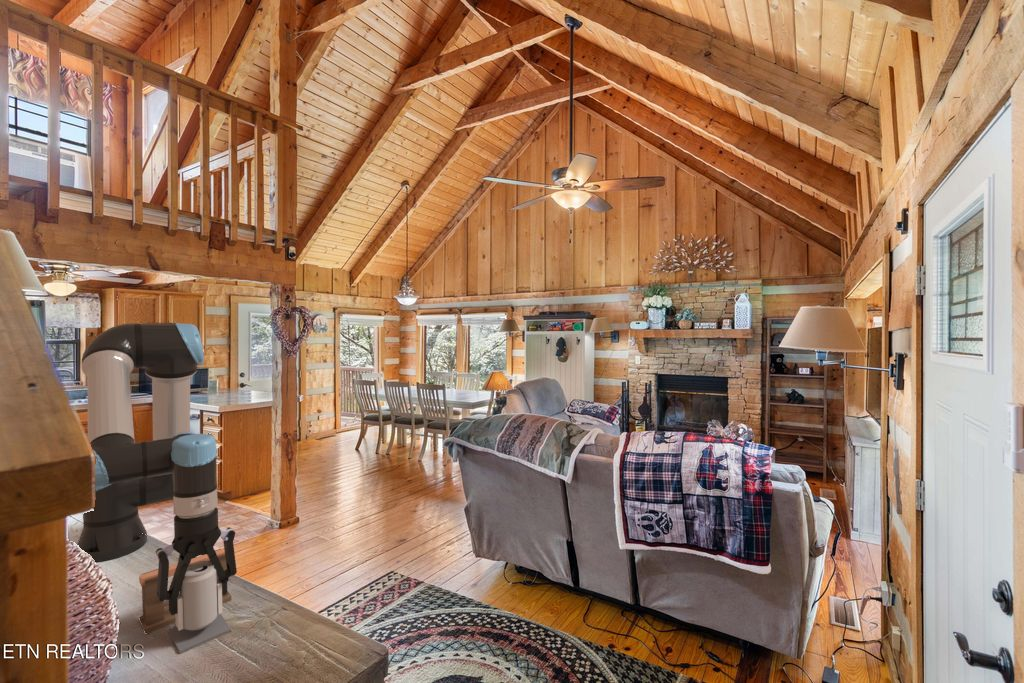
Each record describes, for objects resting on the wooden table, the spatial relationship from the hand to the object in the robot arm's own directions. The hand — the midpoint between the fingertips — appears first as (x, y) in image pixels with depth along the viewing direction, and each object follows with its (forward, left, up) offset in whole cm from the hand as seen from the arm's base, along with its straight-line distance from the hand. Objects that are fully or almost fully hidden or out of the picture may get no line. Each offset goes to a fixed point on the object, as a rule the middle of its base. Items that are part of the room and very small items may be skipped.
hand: (199, 618), depth 98 cm
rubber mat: (0, 0, -3) cm, 3 cm away
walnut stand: (-10, 0, -3) cm, 10 cm away
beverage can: (0, 0, -1) cm, 1 cm away
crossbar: (-10, 0, +7) cm, 12 cm away
